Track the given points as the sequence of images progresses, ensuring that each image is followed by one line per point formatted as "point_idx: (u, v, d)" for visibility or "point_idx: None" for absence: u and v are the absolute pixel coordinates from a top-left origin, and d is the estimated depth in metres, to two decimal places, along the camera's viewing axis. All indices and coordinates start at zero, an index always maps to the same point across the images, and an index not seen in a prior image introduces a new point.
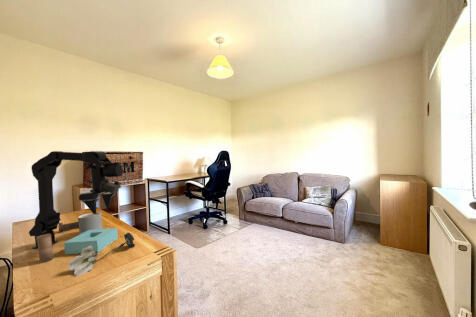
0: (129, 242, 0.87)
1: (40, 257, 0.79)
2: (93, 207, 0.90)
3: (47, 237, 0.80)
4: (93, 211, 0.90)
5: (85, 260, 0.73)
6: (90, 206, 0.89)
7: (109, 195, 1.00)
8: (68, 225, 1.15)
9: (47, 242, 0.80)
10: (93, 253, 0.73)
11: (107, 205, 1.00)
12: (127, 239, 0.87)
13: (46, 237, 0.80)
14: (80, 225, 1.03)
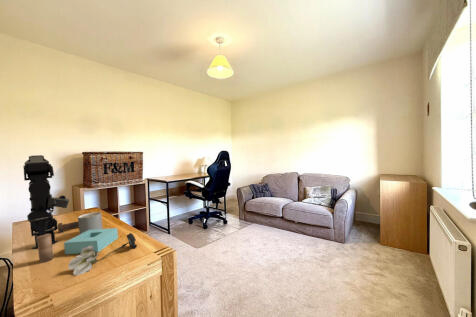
0: (131, 243, 0.86)
1: (40, 257, 0.79)
2: (43, 227, 0.77)
3: (47, 237, 0.80)
4: (42, 232, 0.77)
5: (85, 260, 0.73)
6: (39, 226, 0.76)
7: None
8: (68, 225, 1.15)
9: (47, 242, 0.80)
10: (92, 253, 0.73)
11: None
12: (129, 240, 0.86)
13: (46, 237, 0.80)
14: (80, 225, 1.03)
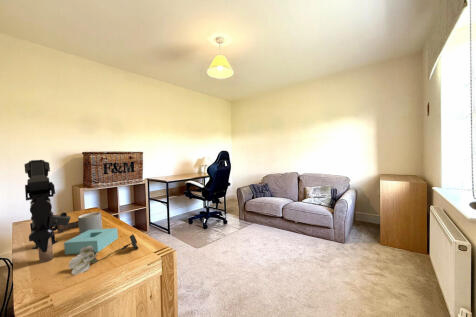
0: (133, 244, 0.84)
1: (40, 257, 0.79)
2: (45, 244, 0.79)
3: None
4: (45, 249, 0.79)
5: None
6: (41, 243, 0.78)
7: None
8: (68, 225, 1.15)
9: None
10: (91, 254, 0.73)
11: None
12: (131, 241, 0.85)
13: None
14: (80, 225, 1.03)
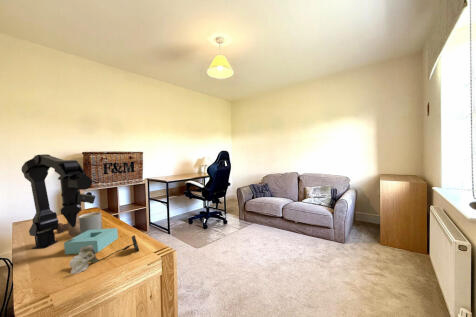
0: (134, 245, 0.83)
1: (69, 231, 0.85)
2: (74, 219, 0.85)
3: None
4: (73, 224, 0.85)
5: (84, 259, 0.74)
6: (71, 218, 0.84)
7: None
8: None
9: None
10: (90, 253, 0.73)
11: None
12: None
13: None
14: (80, 225, 1.03)
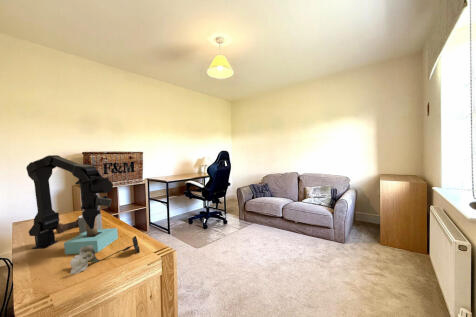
0: (134, 247, 0.82)
1: (88, 233, 0.90)
2: (93, 222, 0.89)
3: None
4: (92, 226, 0.90)
5: (84, 259, 0.74)
6: (90, 221, 0.89)
7: None
8: (67, 225, 1.15)
9: None
10: (89, 254, 0.73)
11: None
12: None
13: None
14: (80, 225, 1.03)
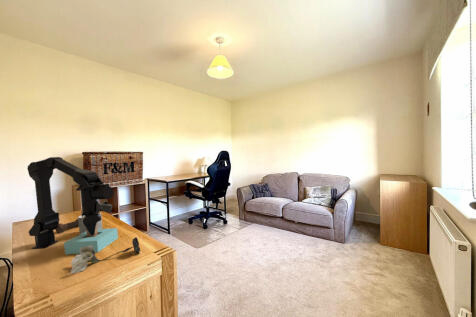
0: (134, 248, 0.81)
1: None
2: (93, 228, 0.89)
3: None
4: (92, 233, 0.89)
5: (84, 259, 0.74)
6: (90, 227, 0.88)
7: None
8: (67, 225, 1.15)
9: None
10: (89, 254, 0.73)
11: None
12: None
13: None
14: (80, 225, 1.03)
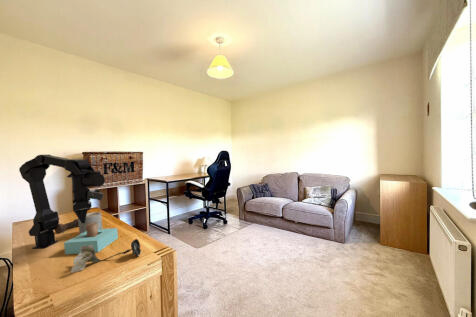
0: None
1: None
2: (84, 216, 0.88)
3: (94, 225, 0.91)
4: (83, 221, 0.88)
5: (84, 258, 0.74)
6: (81, 215, 0.87)
7: None
8: (67, 225, 1.15)
9: (94, 229, 0.91)
10: (88, 254, 0.73)
11: None
12: None
13: (94, 225, 0.91)
14: (80, 225, 1.03)
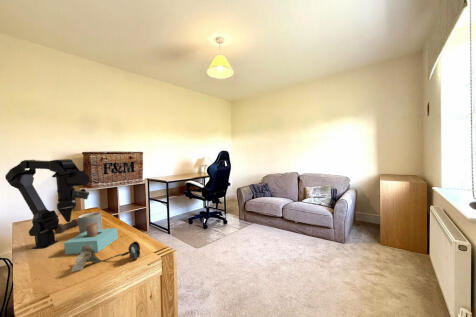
0: None
1: None
2: (69, 215, 0.89)
3: (94, 225, 0.91)
4: (68, 219, 0.90)
5: (85, 257, 0.75)
6: (66, 214, 0.89)
7: None
8: (66, 225, 1.15)
9: (94, 229, 0.91)
10: (87, 254, 0.73)
11: None
12: None
13: (94, 225, 0.91)
14: (80, 225, 1.03)
